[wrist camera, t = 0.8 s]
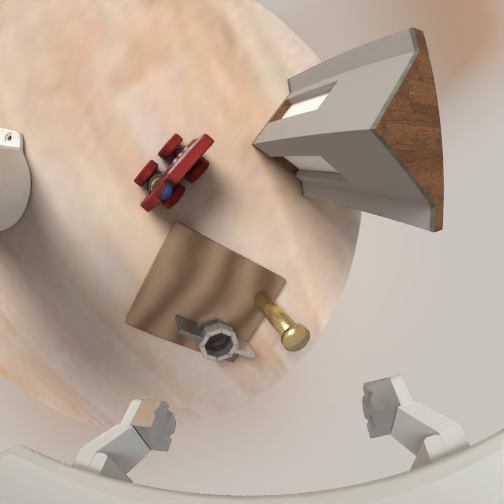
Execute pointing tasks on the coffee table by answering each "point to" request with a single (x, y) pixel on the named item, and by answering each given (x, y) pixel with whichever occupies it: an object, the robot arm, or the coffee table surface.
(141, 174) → the toy fire truck
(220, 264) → the walnut board
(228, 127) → the coffee table surface
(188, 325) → the hinge
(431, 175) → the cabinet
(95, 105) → the coffee table surface
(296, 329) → the hinge pin
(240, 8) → the coffee table surface
